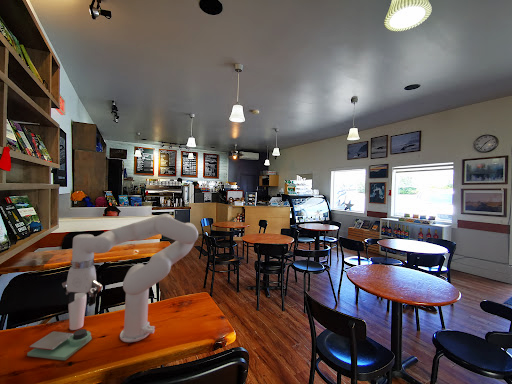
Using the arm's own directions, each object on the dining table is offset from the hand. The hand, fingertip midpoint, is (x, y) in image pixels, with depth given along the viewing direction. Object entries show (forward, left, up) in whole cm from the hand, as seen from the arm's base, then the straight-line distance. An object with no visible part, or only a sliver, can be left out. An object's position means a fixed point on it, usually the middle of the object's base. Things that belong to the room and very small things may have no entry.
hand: (81, 303), depth 100 cm
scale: (+5, +4, -17) cm, 18 cm away
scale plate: (+8, +5, -14) cm, 16 cm away
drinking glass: (+10, -9, -17) cm, 22 cm away
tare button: (0, 0, -14) cm, 14 cm away
